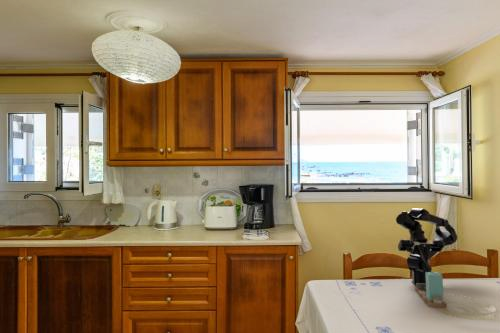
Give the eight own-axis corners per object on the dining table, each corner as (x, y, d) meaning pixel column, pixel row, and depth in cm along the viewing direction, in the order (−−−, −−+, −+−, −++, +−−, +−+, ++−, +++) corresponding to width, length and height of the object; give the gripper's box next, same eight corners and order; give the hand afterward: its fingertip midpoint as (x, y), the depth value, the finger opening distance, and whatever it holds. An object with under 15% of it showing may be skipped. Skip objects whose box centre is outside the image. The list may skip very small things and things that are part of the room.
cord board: (415, 290, 148) (414, 281, 149) (430, 291, 147) (430, 282, 147) (429, 306, 129) (428, 296, 130) (447, 307, 128) (446, 296, 128)
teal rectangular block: (426, 297, 135) (425, 272, 135) (439, 297, 134) (438, 272, 134) (429, 300, 131) (428, 274, 131) (443, 301, 130) (442, 275, 130)
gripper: (431, 242, 161) (442, 272, 150) (391, 241, 162) (399, 270, 151) (439, 229, 153) (451, 259, 142) (397, 228, 155) (406, 257, 143)
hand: (426, 262), depth 145 cm, fingers closed
